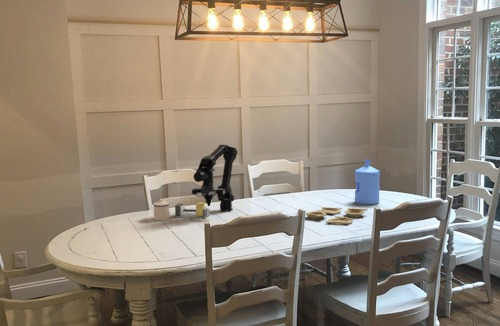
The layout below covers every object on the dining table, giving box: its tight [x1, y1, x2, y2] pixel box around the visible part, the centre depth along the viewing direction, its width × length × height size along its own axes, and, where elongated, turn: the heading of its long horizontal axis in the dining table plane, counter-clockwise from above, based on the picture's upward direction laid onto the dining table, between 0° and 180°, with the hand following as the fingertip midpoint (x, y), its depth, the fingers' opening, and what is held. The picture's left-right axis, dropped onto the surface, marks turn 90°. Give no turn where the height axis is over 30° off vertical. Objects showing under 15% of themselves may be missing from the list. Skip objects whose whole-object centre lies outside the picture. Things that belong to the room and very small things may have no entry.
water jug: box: [354, 159, 381, 205], centre depth 303 cm, size 16×16×28 cm
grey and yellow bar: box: [174, 202, 211, 220], centre depth 274 cm, size 19×8×7 cm, turn 79°
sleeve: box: [195, 201, 206, 216], centre depth 273 cm, size 4×5×7 cm
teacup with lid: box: [153, 198, 170, 222], centre depth 270 cm, size 12×9×12 cm
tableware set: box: [305, 206, 369, 226], centre depth 267 cm, size 35×29×4 cm
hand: (208, 205), depth 271 cm, fingers closed
